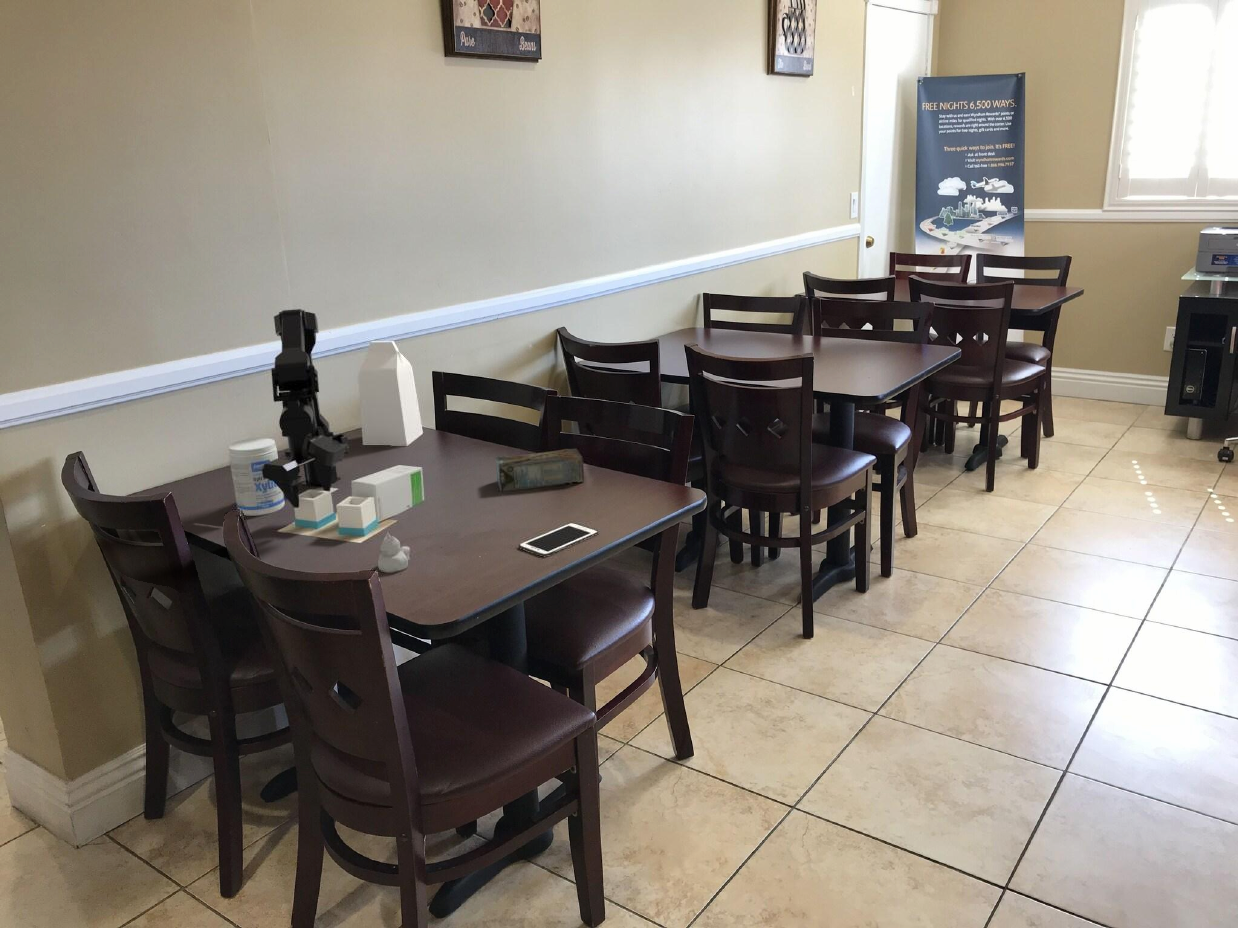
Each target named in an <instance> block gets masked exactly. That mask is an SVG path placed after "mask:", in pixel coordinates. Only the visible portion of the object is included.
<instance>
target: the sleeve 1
mask: <svg viewBox="0 0 1238 928" xmlns="http://www.w3.org/2000/svg"><path fill="white" fill-rule="evenodd" d="M298 494H299V493H298ZM293 509H294V515H295V517H294V522H295V526H298V527H305V528H312V529H319V528H321V527H323V526H325V525H327V524H329V523H330V522H332V521H334V520H336V514H335V513H336V512H334V511H335V510H334V504H333V497H332V493H331V492H329V491H324V490H320V489H319V490H318V489H312V488H311V489H307V490H305V491H303V492H302V493H300V494H299V507H298V508H294V507H293Z"/></svg>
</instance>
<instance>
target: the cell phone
mask: <svg viewBox="0 0 1238 928" xmlns="http://www.w3.org/2000/svg"><path fill="white" fill-rule="evenodd" d="M598 532H599V533H600V531H599V530H598V529H595V528H591V527H588V526H586V525H583V524H579V523H577V522H569V523H567V524H564V525H561V526H559V527H556V528H554V529H552V530H549V531H547V532H544V533H543V534H540V535H537V536H535V537H532V538H530V539H527V540H525V541H522V542H521V543H519V544H518V549H519V548H521V549H525V550H527V551H530V552H533V553H534V554H538V555H542V556H547V555H551V554H553V553H555V552H556V551H559V550H560V549H563V548H566V547H568V546H570V545H573V544H575V543H577V542H580V541H581V540H584V539H585V538H588V537H591V536H592V535H595V534H598ZM598 535H599V534H598ZM521 549H520V550H521ZM559 552H560V551H559ZM534 554H533V555H534ZM555 554H556V553H555ZM553 555H554V554H553ZM551 556H552V555H551Z"/></svg>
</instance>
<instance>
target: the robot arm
mask: <svg viewBox="0 0 1238 928" xmlns="http://www.w3.org/2000/svg"><path fill="white" fill-rule="evenodd" d="M273 323H274V330H275V335H276V336H277V337H280V340H281V341H280V342H281V352H280V353H279V354H277V355H276V356H275V358H274V367H271V382H272V396H273V402H274V403H276V402H281V404H282V409H281V410H282V411H281V412H280V416H279V421H278V424H279V429H280V430H281V436H282V437H284V438H287V444H288V445H287V446H288V450H286V451H284V456H285V457H287V458H290V459H282V458H278V459H275V460H273V461H270V462H268V463H265V464H264V465H263V467H262V474H263V478H265V479H268V480H269V481H273V482H274V483H275V484H276V485H277V486H278V487H279V488H280V489H281V491H282V492H283V495H284V497H286V499H287V500H288V502H289V503H290V504H291V505H292V508H293V509H294V508H298V507H299V488H298V487H299V486H298V485H299V484H298V483H299V481H300V480H301V478H302V475H299V474H300V472H301V468H300V467H302V466H303V471H304V478H305V481H303V482H301V483H300V485H301V486H305V485H306V486H308V487H316V488H322V489H323V490H322V491H329V492H330V488H332V484H334V483H335V482H338V481H340V480H342V477H340V476H338V472H337V468H336V467H337V465H338V464H339V462H340V463H341V462H343V460H344V459H345V455H346V454H349V452H348V451H350V447H349V439H348V435H347V434H345V433H342V432H340V433H338V434H336V435H335V434H334V431H331V429H330V423H329V421H328V420H327V419H326V418H325V417H324V416H323V415H322V413H321V411H320V403H319V396H318V393H320V387H319V385H320V383H319V374H318V373H319V372H318V370H317V368H316V367H315V365H314V363H313V356H312V352H313V350H314V347H315V345H316V343H317V334H319V323H318V317H317V315H316V313H314V312H310V311H306V310H305V309H301V308H296V309H294V308H293V309H284V310H283V309H282V310H281V311H279V312H278V314H276V315H274V316H273Z"/></svg>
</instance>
